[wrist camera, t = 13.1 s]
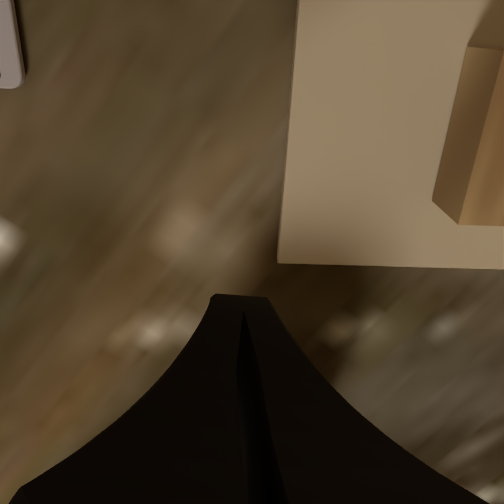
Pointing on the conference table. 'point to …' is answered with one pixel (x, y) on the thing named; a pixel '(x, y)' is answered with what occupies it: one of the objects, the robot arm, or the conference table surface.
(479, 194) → the wooden block
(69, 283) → the conference table surface
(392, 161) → the mat
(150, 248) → the conference table surface
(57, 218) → the conference table surface
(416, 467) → the robot arm
